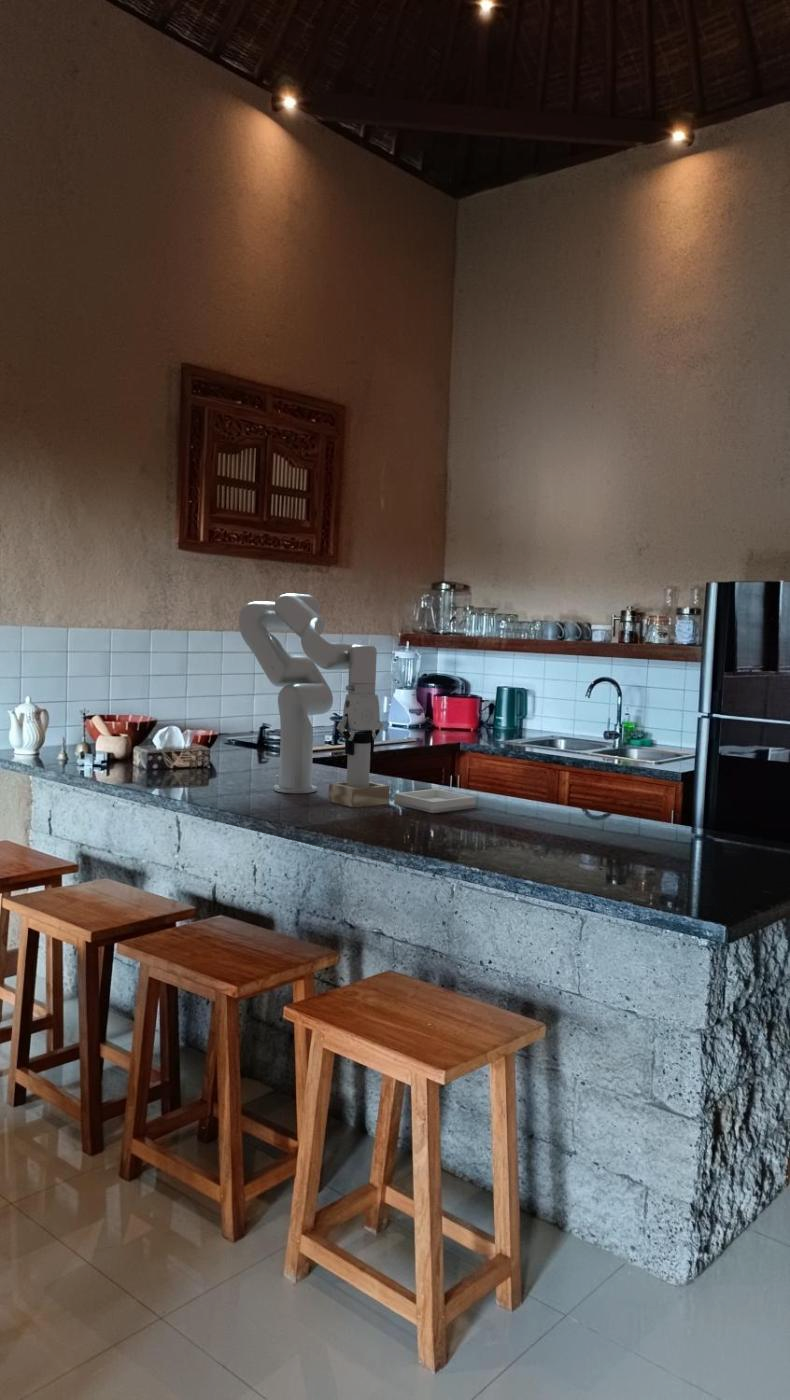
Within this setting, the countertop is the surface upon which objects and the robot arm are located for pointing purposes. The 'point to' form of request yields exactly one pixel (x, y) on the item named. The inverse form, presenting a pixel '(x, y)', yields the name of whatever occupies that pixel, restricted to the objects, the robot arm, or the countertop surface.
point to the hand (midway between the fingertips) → (359, 753)
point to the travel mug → (359, 761)
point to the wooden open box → (359, 794)
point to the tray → (434, 800)
